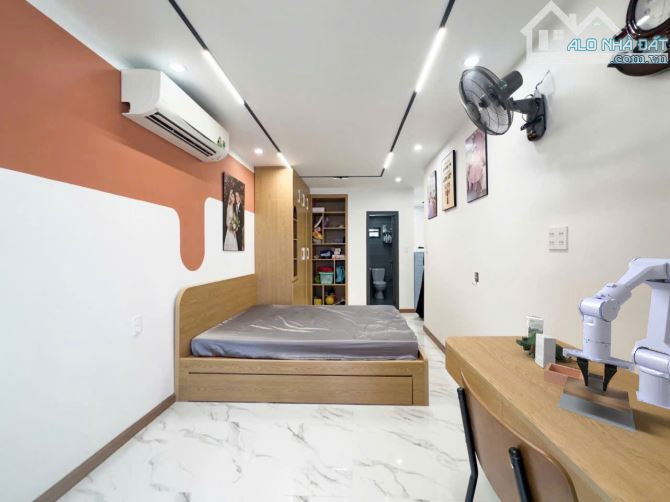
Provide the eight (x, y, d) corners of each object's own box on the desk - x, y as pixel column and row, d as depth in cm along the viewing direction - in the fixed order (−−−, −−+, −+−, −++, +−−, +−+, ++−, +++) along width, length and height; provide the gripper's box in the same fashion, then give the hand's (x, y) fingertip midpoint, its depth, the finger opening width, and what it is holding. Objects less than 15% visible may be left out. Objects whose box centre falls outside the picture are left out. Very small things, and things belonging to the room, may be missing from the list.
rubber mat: (632, 410, 77) (632, 409, 77) (635, 434, 66) (635, 433, 66) (563, 390, 88) (563, 388, 88) (557, 408, 77) (557, 406, 77)
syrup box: (541, 346, 129) (541, 316, 129) (542, 350, 124) (543, 319, 124) (526, 344, 132) (527, 314, 132) (527, 347, 127) (528, 317, 127)
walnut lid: (627, 395, 77) (628, 377, 77) (630, 413, 68) (630, 393, 68) (567, 378, 86) (568, 363, 86) (563, 393, 77) (563, 375, 77)
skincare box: (555, 369, 103) (556, 338, 103) (542, 368, 104) (543, 337, 104) (546, 363, 109) (547, 334, 109) (534, 362, 110) (535, 333, 110)
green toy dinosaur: (559, 379, 107) (581, 358, 106) (518, 344, 113) (538, 325, 112) (547, 370, 118) (567, 352, 116) (510, 340, 124) (528, 322, 123)
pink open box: (584, 382, 93) (585, 371, 93) (582, 392, 86) (583, 380, 86) (548, 372, 100) (548, 362, 100) (543, 381, 93) (544, 370, 93)
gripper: (562, 337, 79) (560, 382, 79) (635, 350, 69) (634, 403, 69) (564, 332, 84) (563, 375, 84) (633, 344, 74) (632, 393, 74)
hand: (595, 387), depth 77 cm, fingers closed on walnut lid, 3 cm apart
